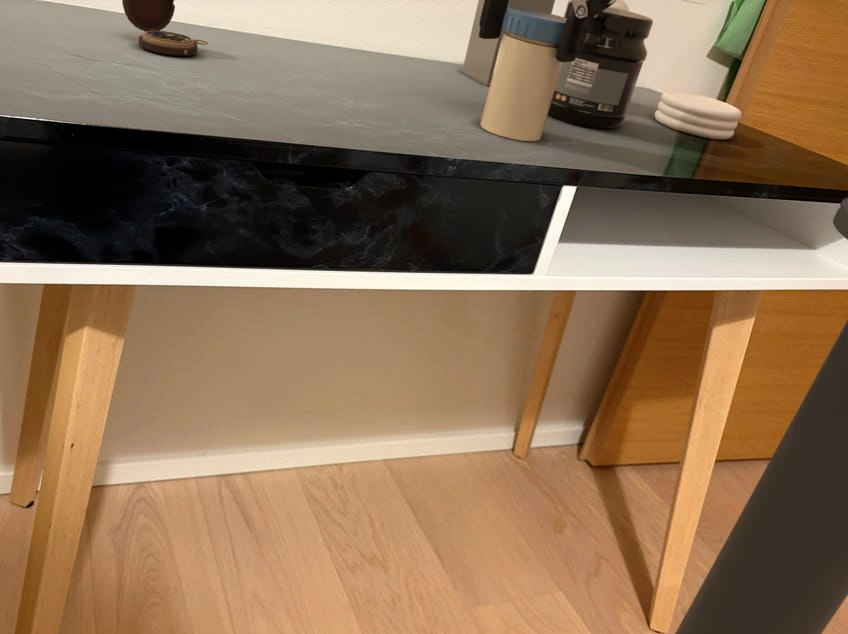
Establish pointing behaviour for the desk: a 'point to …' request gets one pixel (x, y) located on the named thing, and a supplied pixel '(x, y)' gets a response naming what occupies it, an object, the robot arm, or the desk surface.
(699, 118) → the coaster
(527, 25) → the lid
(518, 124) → the jar
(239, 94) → the desk surface
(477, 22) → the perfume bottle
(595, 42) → the supplement container
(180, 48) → the compass
